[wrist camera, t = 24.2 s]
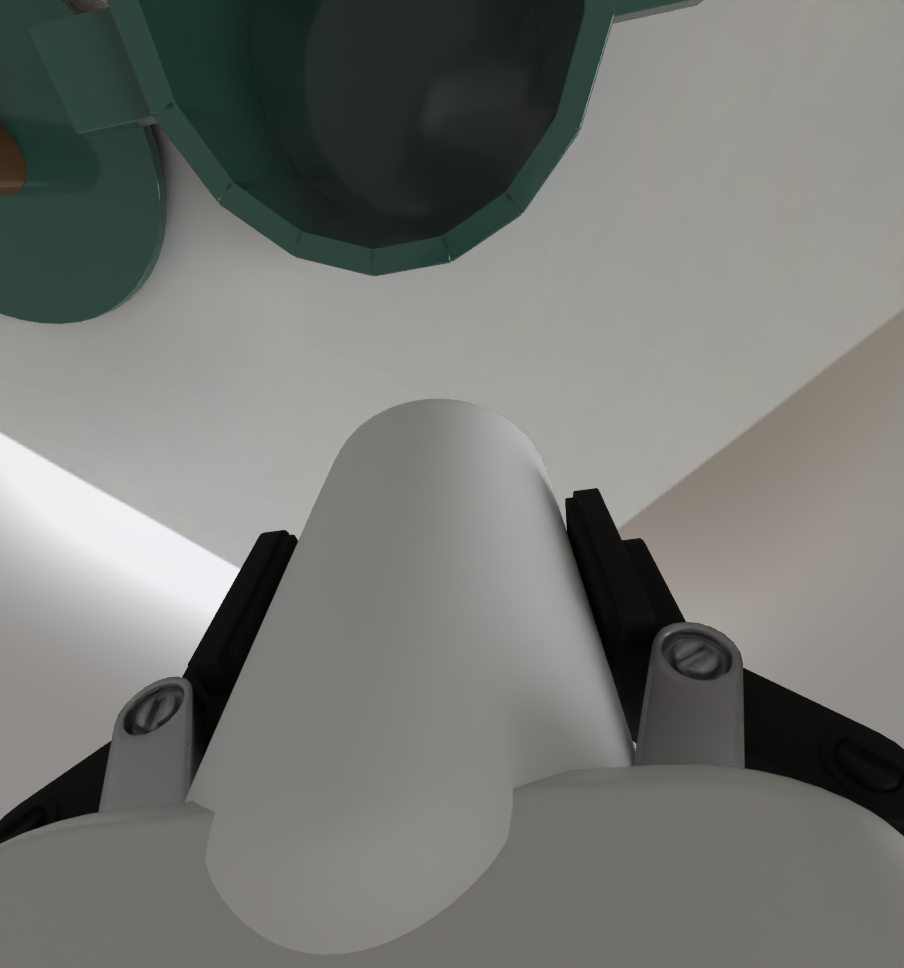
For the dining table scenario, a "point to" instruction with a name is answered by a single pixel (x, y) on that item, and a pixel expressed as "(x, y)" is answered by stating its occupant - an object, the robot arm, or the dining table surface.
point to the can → (405, 686)
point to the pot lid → (68, 191)
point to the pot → (348, 109)
